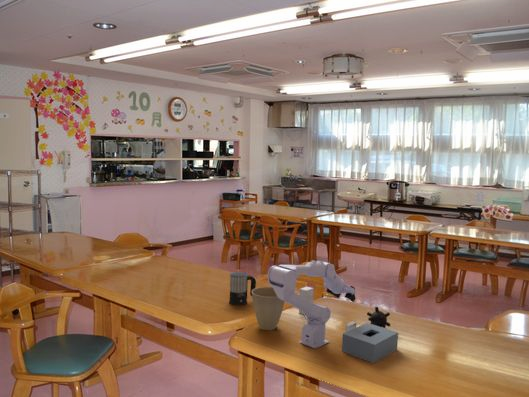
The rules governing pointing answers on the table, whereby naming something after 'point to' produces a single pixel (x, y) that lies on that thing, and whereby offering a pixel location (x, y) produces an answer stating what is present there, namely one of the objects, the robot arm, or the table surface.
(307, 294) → the skincare box
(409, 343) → the table surface
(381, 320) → the toy ball
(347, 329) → the wooden block
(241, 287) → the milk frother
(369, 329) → the grey square hole block
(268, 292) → the plant pot
